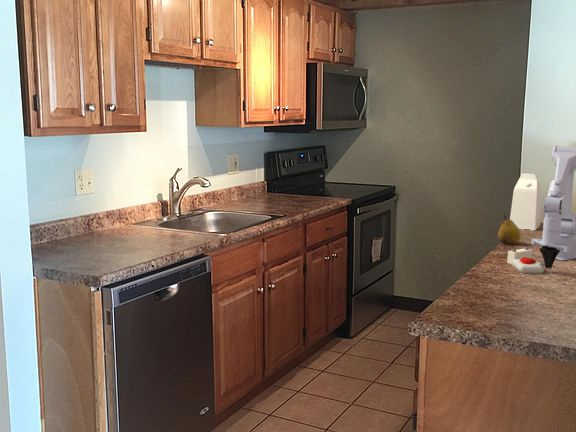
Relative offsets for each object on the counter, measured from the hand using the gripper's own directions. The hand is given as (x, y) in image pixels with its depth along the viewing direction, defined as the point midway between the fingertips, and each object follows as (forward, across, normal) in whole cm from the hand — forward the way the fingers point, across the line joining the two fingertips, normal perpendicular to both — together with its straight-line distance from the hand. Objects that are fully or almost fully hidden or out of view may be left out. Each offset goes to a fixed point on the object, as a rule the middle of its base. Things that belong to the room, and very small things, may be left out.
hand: (548, 267), depth 229 cm
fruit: (+2, -39, +24) cm, 46 cm away
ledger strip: (+1, -14, +2) cm, 14 cm away
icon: (+2, -6, -3) cm, 7 cm away
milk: (+2, -60, +60) cm, 85 cm away
